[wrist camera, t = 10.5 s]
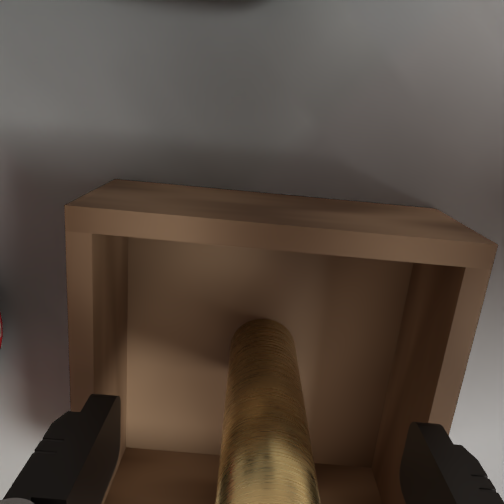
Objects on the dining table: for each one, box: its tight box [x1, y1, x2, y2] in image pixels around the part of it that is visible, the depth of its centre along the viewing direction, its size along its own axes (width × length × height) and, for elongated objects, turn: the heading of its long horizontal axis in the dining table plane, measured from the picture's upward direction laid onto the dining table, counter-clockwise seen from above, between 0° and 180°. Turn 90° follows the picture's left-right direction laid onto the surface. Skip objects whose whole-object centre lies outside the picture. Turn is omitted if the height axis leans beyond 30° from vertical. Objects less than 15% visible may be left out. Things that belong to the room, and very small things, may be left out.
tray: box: [64, 179, 498, 504], centre depth 16 cm, size 11×11×4 cm
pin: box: [215, 319, 321, 504], centre depth 12 cm, size 3×3×12 cm
